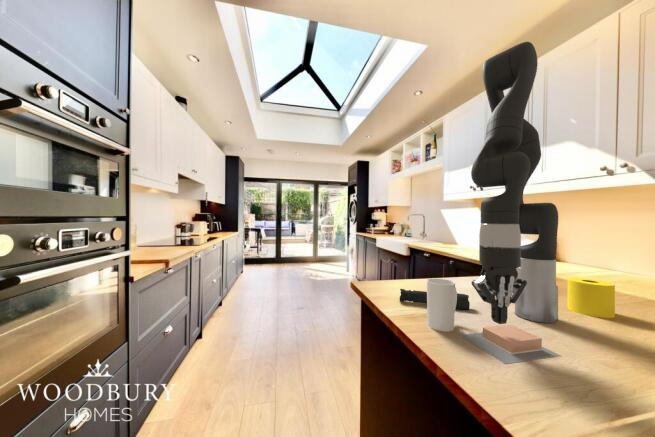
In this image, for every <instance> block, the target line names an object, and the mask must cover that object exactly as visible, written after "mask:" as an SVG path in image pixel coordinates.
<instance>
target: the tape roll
mask: <svg viewBox="0 0 655 437" xmlns="http://www.w3.org/2000/svg"><path fill="white" fill-rule="evenodd" d="M615 294H616V284H615V283H614V282H613V283H612V282H609V281H606V280H600V279H593V278H586V277H585V278H584V277H568V278H567V309H568V310H570V311H571V312H574V313H578V314H582V315H585V316H589V317H590V316H591V317H593V318H595V317H596V318H602V319H603V318H604V319H614V318H615V317H616V316H615V315H616V297H615V296H616V295H615Z"/></svg>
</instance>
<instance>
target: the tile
mask: <svg viewBox="0 0 655 437" xmlns="http://www.w3.org/2000/svg"><path fill="white" fill-rule="evenodd" d="M482 333H483V339H485V340H487V341H488V342H490V343H492V344H494V345H495V346H497V347H499V348H501V349H503V350H504V351H506V352H508V353H510V354H518V353H525V352H532V351H540V350H542V347H543V341H542V340H543V338H542V337H540V336H537V335H535V334H532V333H530V332H528V331H526V330H524V329H521V328H519V327H516V326H515V325H512V324H502V325H494V326H488V327H487V326H485V327H482Z"/></svg>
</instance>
